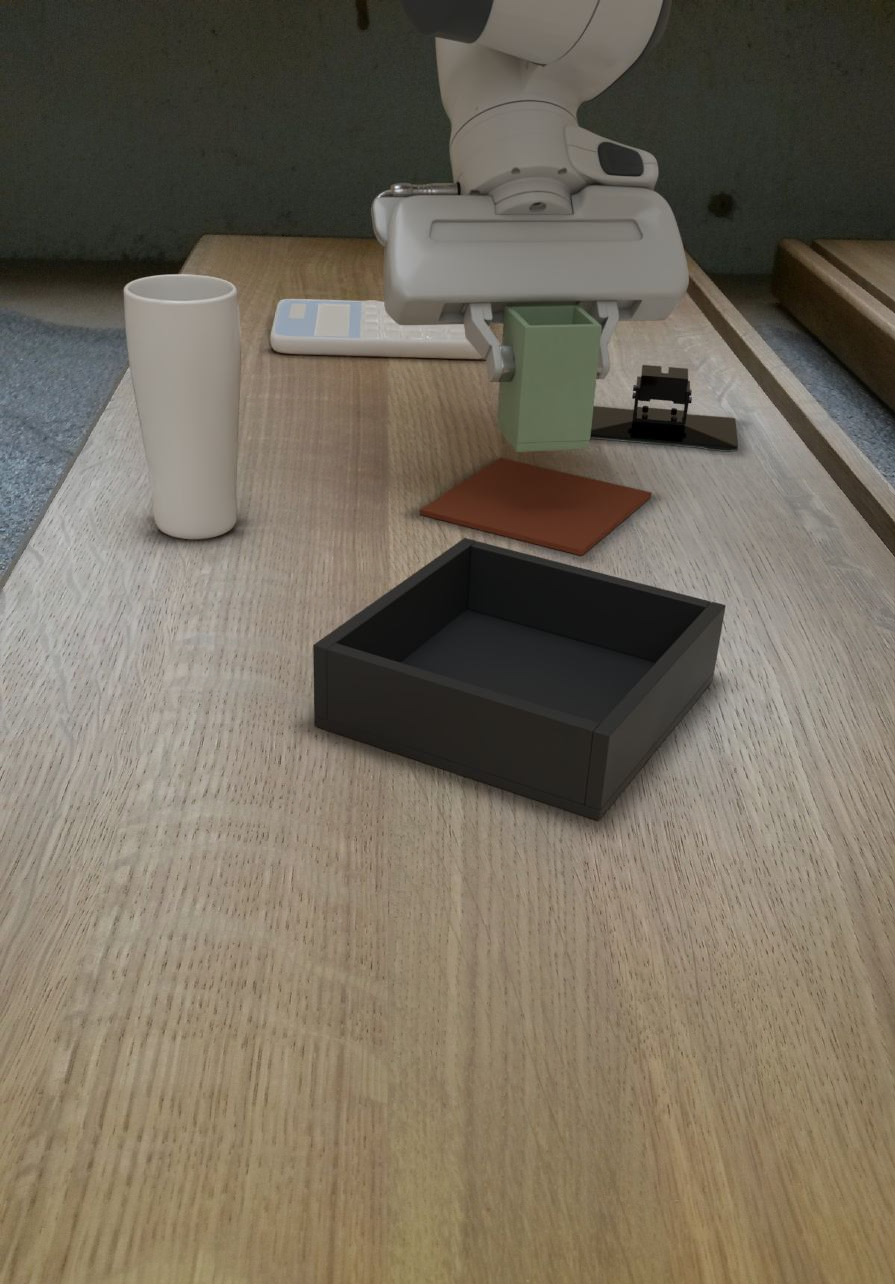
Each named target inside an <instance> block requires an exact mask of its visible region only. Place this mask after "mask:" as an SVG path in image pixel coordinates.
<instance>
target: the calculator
mask: <svg viewBox="0 0 895 1284" xmlns="http://www.w3.org/2000/svg"><path fill="white" fill-rule="evenodd" d="M489 328H490V329H491V325H490V326H489ZM269 337H270V339H269V340H270V346H271V348H272V349H273V351H275V352H276V353H281V354H287V355H289V354H290V355H314V356H315V355H316V356H349V357H352V356H353V357H380V358H381V357H383V358H384V357H386V358H416V359H417V358H422V359H455V360H484V359H483V358H482V357H481V355H480V354H479V353H478V352H477V351H476V349H475V348H474V347H473V346H472V344H471V343H470V342H469V341H468V340H467V338H466V336H465V329H464V324H449V325H399V324H397V323H396V322H395V321H394V320H393V319H392V318H391V317H390V316H389V315H388V314H387V313H386V311H385V305H384V300H383V301H381V300H379V301H378V300H374V299H368V300H367V299H366V300H349V299H348V300H345V299H318V298H317V299H315V298H283V299H280V300H279V301H278V302H277V305H276V309H275V314H274V318H273V322H272V326H271V330H270V335H269Z"/></svg>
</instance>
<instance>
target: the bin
mask: <svg viewBox="0 0 895 1284" xmlns="http://www.w3.org/2000/svg"><path fill="white" fill-rule="evenodd" d="M726 607H727V605H726V604H723V603H719V602H716V601H710V600H707V599H702V598H699V597H695V596H692V595H687V594H683V593H680V592H676V591H671V590H667V589H664V588H662V587H661V588H660V587H656V586H652V585H649V584H645V583H641V582H637V581H633V580H630V579H625V578H622V577H618V576H613V575H610V574H606V573H602V572H598V571H594V570H590V569H586V568H584V567H579V566H575V565H571V564H568V563H564V562H559V561H555V560H552V559H548V558H544V557H540V556H536V555H532V554H529V553H525V552H520V551H517V550H513V549H509V548H506V547H502V546H497V545H494V544H489V543H486V542H482V541H479V540H475V539H471V538H467V537H464V538H462V539H460V540H459V541H458V542H457V543H455V544H454V545H453V546H450V547H449V548H448V549H447V550H445V551H444V552H442V553H441V554H440V555H438V556H437V557H435V558H434V559H432V560H431V561H430V562H428V563H427V564H426V565H424V566H423V567H421V568H420V569H418V570H417V571H415V572H414V573H412V574H411V575H409V576H408V577H407V578H406V579H404V580H403V581H401V582H400V583H399V584H397V585H395V587H393V588H391V589H390V590H389V591H387V592H386V593H385V594H383V595H382V596H381V597H379V598H377V599H376V600H375V601H373V602H371V603H370V604H369V605H367V606H366V607H365V608H364V609H362V610H361V611H359V612H357V613H356V614H355V615H353V616H352V617H350V618H349V619H348V620H346V621H345V622H344V623H342V624H341V625H339V626H338V627H337V628H335V629H333V630H332V631H331V632H329V633H328V634H327V635H325V636H324V637H323V638H321V639H320V640H318V641H316V643H314V644H313V645H312V649H313V650H312V655H313V657H312V658H313V659H312V660H313V663H312V665H313V709H314V710H313V714H314V715H313V716H314V717H313V718H314V720H313V721H314V722H313V723H314V724H313V725H314V726H315V727H317V728H319V729H322V730H326V731H329V732H332V733H334V734H338V735H340V736H343V737H344V736H345V737H346V738H349V739H352V740H355V741H358V742H361V743H365V744H368V745H370V746H372V747H373V746H374V747H377V748H380V749H383V750H386V751H389V752H392V753H394V754H397V755H401V756H404V757H406V758H410V759H413V760H415V761H418V762H422V763H424V764H427V765H430V766H434V767H436V768H439V769H442V770H445V771H448V772H451V773H454V774H458V775H461V776H464V777H466V778H470V779H472V780H476V781H479V782H482V783H483V784H488V785H490V786H494V787H497V788H500V789H503V790H505V791H508V792H512V793H515V794H518V795H521V796H523V797H526V798H529V799H532V800H534V801H535V800H536V801H538V802H541V803H544V804H547V805H550V806H554V807H557V808H559V809H562V810H565V811H569V812H572V813H574V814H578V815H581V816H583V817H587V818H589V819H593V820H596V821H600V820H601V818H602V817H604V815H605V814H606V812H607V811H608V810H609V809H610V808H611V806H612V805H613V804H614V803H615V802H616V800H617V799H618V798H619V797H620V795H621V794H622V793H623V791H625V789H626V788H627V787H628V786H629V784H631V782H632V781H633V779H634V778H635V777H636V776H637V774H638V773H639V772H640V771H641V769H643V767H644V766H645V765H646V763H648V761H649V760H650V759H651V757H652V756H653V755H654V753H656V751H657V750H658V749H659V748H660V746H661V745H662V744H663V743H664V742H665V740H666V739H667V738H668V736H669V735H670V734H671V733H672V731H673V730H674V729H675V728H676V727H677V726H678V725H679V724H680V722H681V721H682V720H683V718H684V717H685V716H686V714H687V713H688V712H689V711H690V710H691V708H692V707H693V706H694V705H695V704H696V702H697V701H698V700H699V699H700V697H701V696H702V695H703V694H704V692H706V690H707V688H709V686H710V685H711V684H712V682H714V676H715V670H716V665H717V658H718V652H719V648H720V647H719V646H720V642H721V637H722V631H723V624H724V618H725V614H726V613H725V612H726Z"/></svg>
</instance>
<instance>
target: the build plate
mask: <svg viewBox="0 0 895 1284" xmlns="http://www.w3.org/2000/svg"><path fill="white" fill-rule="evenodd" d="M662 369H663V367H662V366H660V365H651V364H650V365H649V364H642V365H641V370H640V371H641V372H640V376H636V384H633V386H632V397H631V398H632V399H633V408H624V407H612V406H601V405H600V406H599V405H594V406H593V416H592V426H591V435H590V439H597V440H609V441H621V442H632V443H641V444H642V443H643V444H654V445H665V446H666V445H667V446H677V447H678V446H679V447H689V448H701V449H706V450H708V451H709V450H710V451H721V452H733V451H735V452H736V451H739V440H738V432H737V431H738V430H737V422H736V418H735V417H729V416H717V415H707V414H706V415H705V414H693V413H688V409H689V405H690V404H692V401H693V397H692V393H693V390H692V389H691V380H689V368H685V367H674V366H669V367H668V368H667V372H662V371H663V370H662ZM651 400H653V401H666V402H672V404H673V405H682V408H681V410H680V409H678V408H677V407H671V409H670V408H658V407H649V406H648V405H642V406H639V402H651Z"/></svg>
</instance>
